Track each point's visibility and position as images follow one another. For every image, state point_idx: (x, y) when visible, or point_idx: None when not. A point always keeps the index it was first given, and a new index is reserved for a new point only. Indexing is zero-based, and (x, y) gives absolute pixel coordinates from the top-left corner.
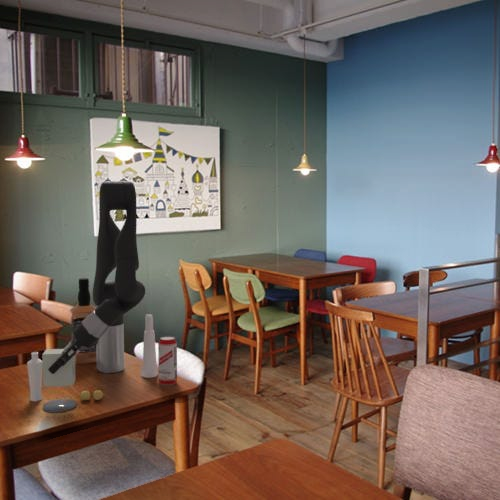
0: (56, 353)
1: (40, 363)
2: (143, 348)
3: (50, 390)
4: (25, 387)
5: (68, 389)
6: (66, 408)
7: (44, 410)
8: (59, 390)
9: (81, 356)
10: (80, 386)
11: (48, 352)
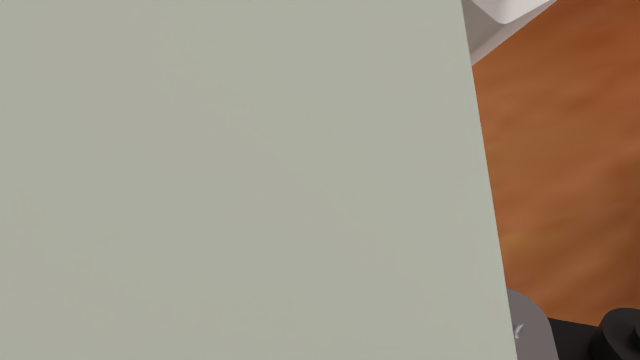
0: (14, 333)
1: (470, 13)
2: None
3: (519, 147)
4: (554, 2)
5: (541, 250)
6: None
7: None
8: (522, 200)
9: None
10: (596, 313)
11: (162, 72)
